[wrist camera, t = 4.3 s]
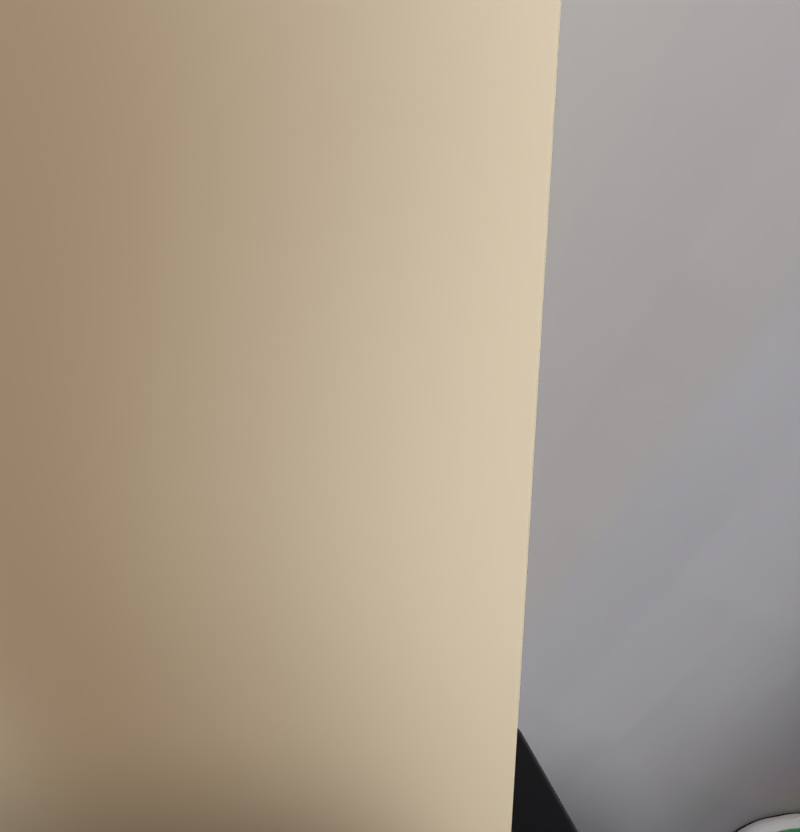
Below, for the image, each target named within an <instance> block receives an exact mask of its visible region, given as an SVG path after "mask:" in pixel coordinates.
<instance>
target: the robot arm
mask: <svg viewBox="0 0 800 832" xmlns="http://www.w3.org/2000/svg"><path fill="white" fill-rule="evenodd" d="M511 832H578V831H577V829H576V827H575V826H574V824H573V822H572V820H571V819H570V817H569V815H568V813H567V812H566V810H565V808H564V806H563V805H562V803H561V801H560V799H559V798H558V796H557V794H556V792H555V791H554V789H553V787H552V785H551V784H550V782H549V780H548V778H547V777H546V775H545V773H544V771H543V770H542V768H541V766H540V764H539V763H538V761H537V759H536V757H535V756H534V754H533V752H532V750H531V749H530V747H529V745H528V743H527V742H526V740H525V738H524V736H523V735H522V733H521V731H520V730H519V729H518V728H517V743H516V759H515V776H514V793H513V810H512V826H511Z"/></svg>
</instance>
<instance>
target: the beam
mask: <svg viewBox="0 0 800 832" xmlns="http://www.w3.org/2000/svg"><path fill="white" fill-rule="evenodd" d="M560 10H561V0H0V832H511V826H512V810H513V793H514V776H515V759H516V743H517V726H518V710H519V693H520V676H521V660H522V643H523V626H524V610H525V593H526V576H527V560H528V543H529V526H530V510H531V493H532V476H533V460H534V443H535V426H536V410H537V393H538V376H539V360H540V343H541V326H542V310H543V293H544V276H545V260H546V243H547V226H548V210H549V193H550V176H551V160H552V143H553V126H554V110H555V93H556V76H557V60H558V43H559V26H560Z"/></svg>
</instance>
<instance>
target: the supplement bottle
mask: <svg viewBox="0 0 800 832" xmlns="http://www.w3.org/2000/svg"><path fill="white" fill-rule="evenodd" d="M738 832H800V813H796V814H787V815H782V816H777V817H771V818H765V819H762V820H759V821H756V822H754V823H752V824H749V825H747V826H746V827H744V828H742V829H740V830H739V831H738Z"/></svg>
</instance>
